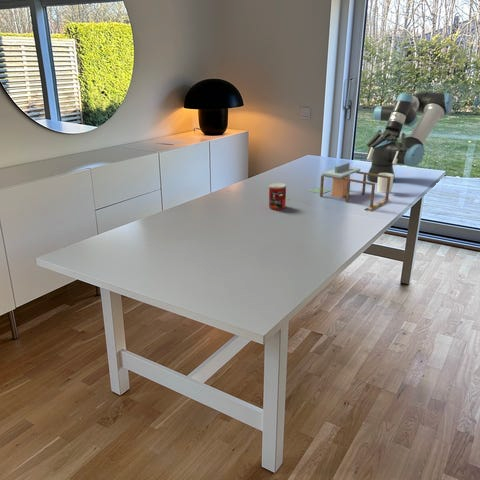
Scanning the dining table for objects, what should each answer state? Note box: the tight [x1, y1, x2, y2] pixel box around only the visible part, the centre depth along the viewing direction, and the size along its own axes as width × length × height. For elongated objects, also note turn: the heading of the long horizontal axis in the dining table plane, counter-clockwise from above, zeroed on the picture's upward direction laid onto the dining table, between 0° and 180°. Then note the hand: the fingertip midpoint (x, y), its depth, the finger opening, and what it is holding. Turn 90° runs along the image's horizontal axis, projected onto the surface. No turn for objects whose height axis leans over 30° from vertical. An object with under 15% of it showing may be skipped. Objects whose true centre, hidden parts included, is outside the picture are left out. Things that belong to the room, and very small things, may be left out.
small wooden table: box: [319, 171, 391, 212], centre depth 232 cm, size 20×38×13 cm, turn 49°
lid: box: [322, 162, 361, 178], centre depth 230 cm, size 19×10×4 cm, turn 139°
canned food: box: [268, 182, 287, 211], centre depth 220 cm, size 8×8×11 cm
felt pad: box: [308, 187, 332, 195], centre depth 243 cm, size 8×8×1 cm
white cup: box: [376, 173, 395, 194], centre depth 240 cm, size 8×8×10 cm
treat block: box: [331, 174, 351, 199], centre depth 233 cm, size 6×6×10 cm
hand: (380, 162), depth 233 cm, fingers open, 13 cm apart
